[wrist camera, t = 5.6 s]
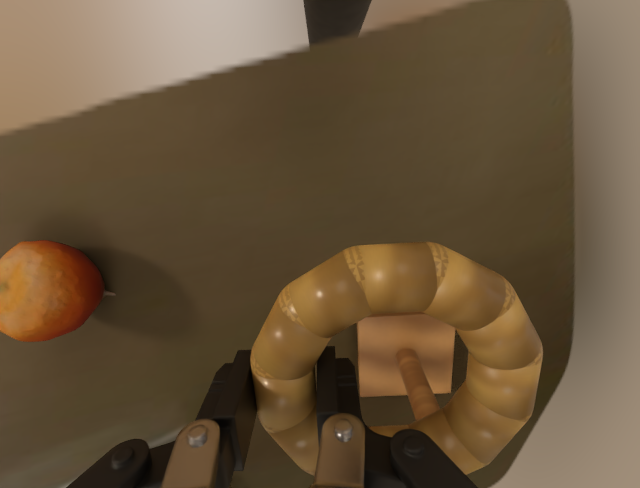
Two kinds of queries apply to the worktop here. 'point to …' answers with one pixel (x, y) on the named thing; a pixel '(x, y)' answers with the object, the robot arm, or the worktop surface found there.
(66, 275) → the fruit
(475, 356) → the ring
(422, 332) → the wooden peg stand
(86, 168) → the worktop surface
